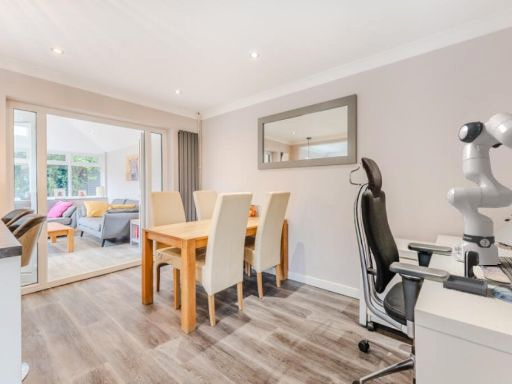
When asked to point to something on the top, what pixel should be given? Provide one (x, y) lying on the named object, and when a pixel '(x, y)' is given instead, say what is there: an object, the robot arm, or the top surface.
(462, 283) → the grey tray
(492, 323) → the top surface
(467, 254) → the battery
